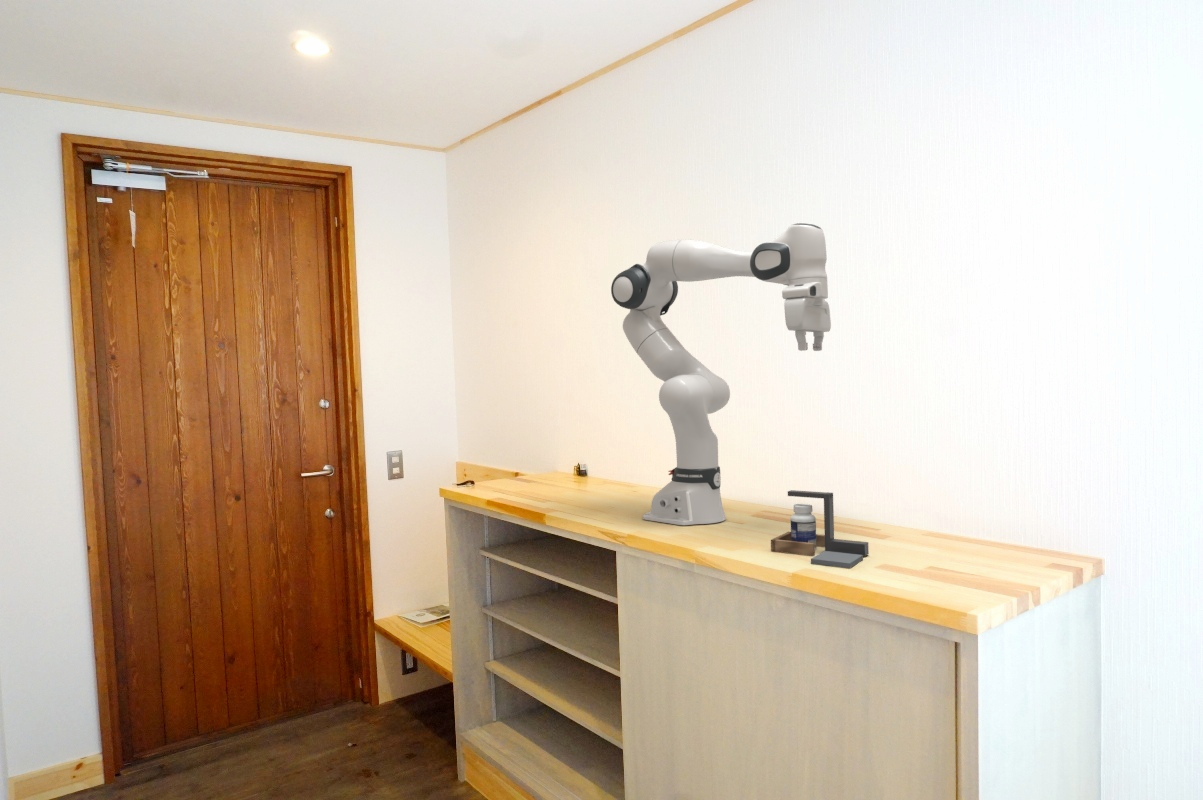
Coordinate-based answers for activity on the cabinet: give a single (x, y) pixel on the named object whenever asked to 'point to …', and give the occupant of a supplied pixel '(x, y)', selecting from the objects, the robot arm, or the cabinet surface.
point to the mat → (837, 559)
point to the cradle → (796, 545)
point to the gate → (830, 542)
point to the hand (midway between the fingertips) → (810, 350)
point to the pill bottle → (803, 524)
